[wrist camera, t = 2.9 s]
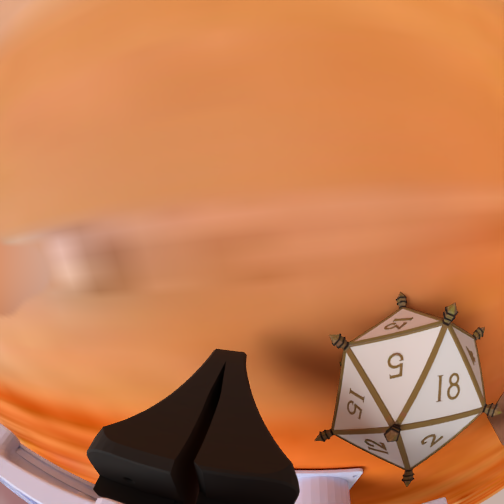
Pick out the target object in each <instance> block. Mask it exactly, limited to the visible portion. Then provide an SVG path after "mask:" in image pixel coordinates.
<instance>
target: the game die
mask: <svg viewBox="0 0 504 504" xmlns="http://www.w3.org/2000/svg"><path fill="white" fill-rule="evenodd" d="M396 301H397V302H398V303H397V305H399V310H397V311H396V312H394V313H393V314H391V315H390V316H389V317H387V318H386V319H384V320H383V321H381V322H380V323H378V324H377V325H375V326H374V327H372V328H371V329H369V330H368V331H366V332H365V333H363V334H362V335H360V336H358V337H357V338H355V339H354V340H352V341H351V342H347V341H346V340H345V337H342V336H341V334H339V335H329V336H330V338H331V341H332V344H333V346H335V345H336V346H337V348H342V349H343V357H342V362H340V366H341V372H340V379H339V386H338V393H337V399H336V405H335V411H334V417H333V422H332V428H331V429H330V430H324V431H323V432H320V433H319V435H318V436H317V438H316V439H315V441H323V442H324V441H325V440H326V439H330V437H331V436H332V435H336V436H337V437H339V438H341V439H343V440H345V441H347V442H348V443H350V444H352V445H354V446H356V447H358V448H360V449H362V450H364V451H366V452H368V453H370V454H372V455H374V456H376V457H378V458H380V459H382V460H384V461H386V462H388V463H391V464H393V465H395V466H397V467H399V468H402V469H404V470H405V473H404V475H403V479H402V481H404V483H405V485H406V486H408V485H409V484H410V482H411V481H412V480H413V479H414V478H413V475H414V474H413V472H412V470H413V468H415V467H416V466H418V465H419V464H420V463H422V462H423V461H425V460H426V459H428V458H429V457H430V456H432V455H433V454H434V453H436V452H437V451H438V450H440V449H441V448H442V447H444V446H445V445H446V444H447V443H449V442H450V441H451V440H452V439H454V438H455V437H456V436H457V435H458V434H460V433H461V432H462V431H463V430H464V429H465V428H466V427H468V426H469V425H470V424H471V423H472V422H473V421H474V420H475V419H476V418H477V417H478V416H480V415H481V414H482V413H483V412H484V413H486V414H487V416H488V415H490V416H491V417H493V416H495V415H498V414H500V413H502V411H501V410H500V408H499V407H498V404H496V405H494V404H493V403H492V404H489V405H487V404H486V401H485V392H484V385H483V378H482V372H481V366H480V360H479V355H478V350H477V345H476V340H477V339H480V337H483V333H484V329H485V327H483V328H479V327H478V328H477V330H475V332H474V334H473V335H471V334H470V333H468V332H466V331H465V330H463V329H461V328H460V327H458V326H457V325H455V324H453V323H452V321H453V320H454V319H455V316H456V314H457V313H458V312H457V310H456V304H455V303H454V304H452V305H450V306H448V307H445V312H443V315H444V318H440V317H437V316H433V315H430V314H427V313H423V312H420V311H417V310H413V309H410V308H407V307H406V306H405V305H406V303H407V301H406V297H405V296H404V295H403V294H402V293H401V292H400V294H399V296H398V298H397V299H396Z"/></svg>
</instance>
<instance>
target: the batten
mask: <svg viewBox="0 0 504 504" xmlns="http://www.w3.org/2000/svg"><path fill="white" fill-rule="evenodd" d="M497 404H498V407H499V408H500V410H501V411H502V413H500V414H498V415H495V416H493V417H491V416H490V415H488V419H489V421H490V423H491V425H492V426H493V428H494V430H495V432H496V434H497V436H498V437H499V439H500V441H501V443H502V445H504V393H503V394H502V396H501V398H500V399H499V401H498V402H497Z"/></svg>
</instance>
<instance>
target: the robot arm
mask: <svg viewBox="0 0 504 504" xmlns="http://www.w3.org/2000/svg"><path fill="white" fill-rule="evenodd" d="M246 356H247V355H246V354H245V353H244V352H237V351H229V350H221V349H216V350H214V351H213V353H212V354H211V355H210V356H209V358H208V359H207V360H206V361H205V362H204V364H203V365H202V366H201V367H200V368H199V369H198V370H197V371H196V372H195V373H194V374H193V375H192V376H191V377H190V378H189V379H188V380H187V381H186V382H185V383H184V384H183V385H181V386H180V387H179V388H178V389H177V390H176V391H174V392H173V393H172V394H170V395H169V396H168V397H166V398H165V399H163V400H162V401H160V402H159V403H157V404H156V405H154V406H152V407H151V408H149V409H147V410H145V411H143V412H141V413H139V414H137V415H135V416H133V417H131V418H128V419H126V420H123V421H120V422H117V423H114V424H111V425H108V426H104V427H103V428H102V429H101V430H100V432H99V433H98V434H97V436H96V437H95V439H94V440H93V442H92V444H91V445H90V447H89V449H88V450H87V456H88V458H89V460H90V462H91V463H92V465H93V466H94V468H95V469H96V470H97V472H98V473H99V475H100V476H99V478H98V480H97V482H96V484H93V483H90V482H88V481H86V480H84V479H82V478H80V477H78V476H76V475H74V474H72V473H70V472H68V471H66V470H64V469H62V468H60V467H58V466H57V465H55V464H53V463H51V462H50V461H48V460H46V459H44V458H43V457H41V456H39V455H38V454H36V453H35V452H33V451H31V450H30V449H28V448H27V447H25V446H24V445H22V444H21V443H20V441H19V440H18V438H17V437H16V436H15V435H14V434H13V433H12V432H11V431H10V430H9V429H8V428H6V427H5V426H3V425H2V424H1V423H0V482H2V483H3V484H4V485H5V486H7V487H8V488H9V489H10V490H11V491H13V492H14V493H15V494H17V495H18V496H19V497H21V498H22V499H23V500H25V501H26V502H27V503H29V504H351V503H350V494H349V490H350V489H351V487H352V486H353V485H354V484H355V482H356V481H357V480H358V478H359V477H360V476H361V475H362V473H363V469H361V468H354V469H339V470H294V467H293V464H292V463H291V461H290V460H289V459H288V458H287V457H286V455H285V454H284V453H283V452H282V450H281V449H280V448H279V446H278V445H277V443H276V442H275V441H274V439H273V437H272V436H271V434H270V432H269V431H268V429H267V427H266V426H265V424H264V422H263V420H262V418H261V416H260V414H259V411H258V409H257V407H256V404H255V401H254V399H253V396H252V393H251V389H250V385H249V381H248V377H247V371H246ZM422 504H447V500H446V497H442V498H439V499H436V500H432V501H429V502H425V503H422Z"/></svg>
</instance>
